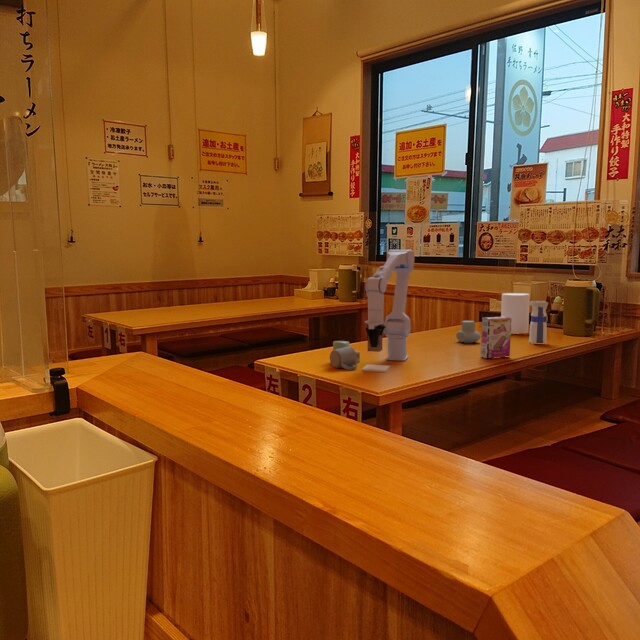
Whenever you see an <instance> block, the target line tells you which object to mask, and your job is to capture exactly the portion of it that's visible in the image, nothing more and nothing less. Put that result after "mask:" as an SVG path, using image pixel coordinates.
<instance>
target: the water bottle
mask: <svg viewBox="0 0 640 640" xmlns="http://www.w3.org/2000/svg"><path fill="white" fill-rule="evenodd" d="M547 293H548V295H550V291H548V292H547ZM548 305H549V302H547V301H545V300H531V301H529V306H531V307H532V310H531V313H530V316H531V319H530V320H531V321H530V324H529V336H528V337H529V338H528V339H529V340H528V343H529V342H531V343H547V342H548V341H547V331H548V330H547V328H548V327H547V322H548V320H549V319H548V318H549V317H548V314H547V311H546V310H547V309H548ZM547 344H548V343H547Z"/></svg>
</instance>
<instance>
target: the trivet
mask: <svg viewBox="0 0 640 640" xmlns="http://www.w3.org/2000/svg"><path fill="white" fill-rule="evenodd" d="M390 368H391V365H386V364H385V365H383V364H368V363H367V364H366V365H364V367H363V368H361V372H377V373H386V372H388V370H389V369H390Z"/></svg>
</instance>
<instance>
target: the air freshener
mask: <svg viewBox="0 0 640 640" xmlns="http://www.w3.org/2000/svg"><path fill="white" fill-rule="evenodd" d="M455 336H456V337H455V338H456V339H457V341H459V342H461V343H462V342H464V343H463V344H474V343H473V342H475V343H476V342H478V341H479V340H481V339H480V338H481V334H480V332H478V331H477V330H476V321H474V320H462V321H461V330H459V331H457V332H456V335H455Z"/></svg>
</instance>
